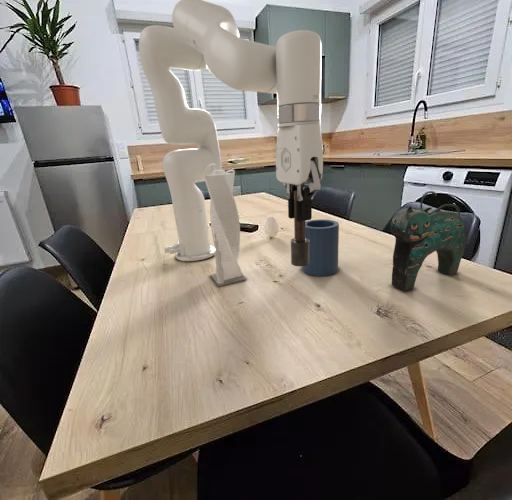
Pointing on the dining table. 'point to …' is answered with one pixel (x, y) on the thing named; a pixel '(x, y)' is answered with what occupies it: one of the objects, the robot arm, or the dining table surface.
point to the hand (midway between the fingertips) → (299, 218)
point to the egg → (271, 226)
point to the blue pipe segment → (322, 247)
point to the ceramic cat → (426, 241)
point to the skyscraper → (224, 226)
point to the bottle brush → (299, 241)
